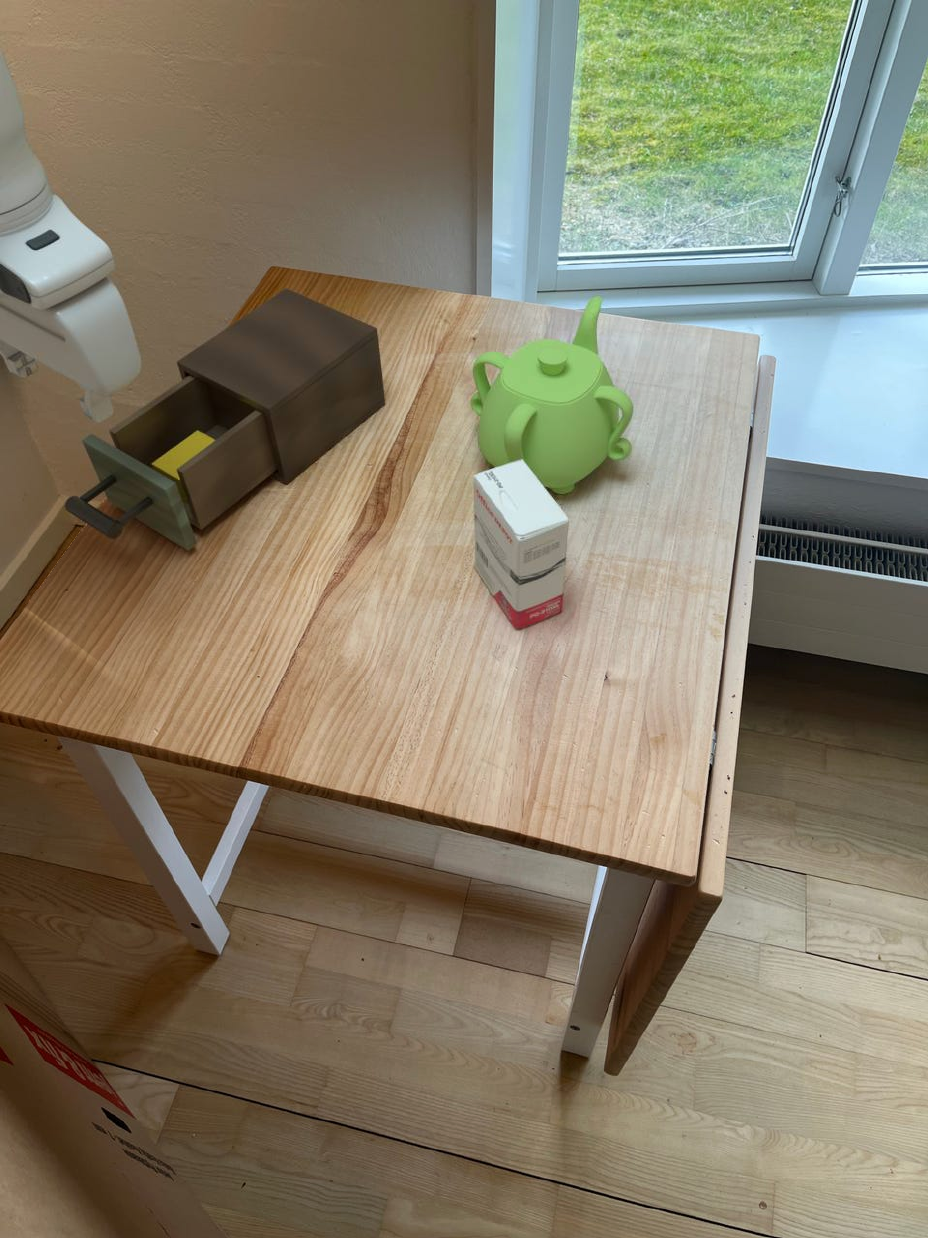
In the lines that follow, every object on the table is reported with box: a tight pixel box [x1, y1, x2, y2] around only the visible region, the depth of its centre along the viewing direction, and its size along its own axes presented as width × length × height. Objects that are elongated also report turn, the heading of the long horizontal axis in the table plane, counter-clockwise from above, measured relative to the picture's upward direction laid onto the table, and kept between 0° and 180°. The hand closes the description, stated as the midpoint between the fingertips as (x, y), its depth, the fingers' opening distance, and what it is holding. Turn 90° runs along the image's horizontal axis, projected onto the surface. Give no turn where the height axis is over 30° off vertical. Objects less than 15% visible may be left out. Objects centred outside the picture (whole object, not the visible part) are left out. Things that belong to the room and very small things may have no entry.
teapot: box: [470, 295, 634, 495], centre depth 93 cm, size 16×14×13 cm
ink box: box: [473, 459, 570, 630], centre depth 81 cm, size 8×5×12 cm, turn 26°
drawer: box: [64, 374, 278, 551], centre depth 90 cm, size 20×11×8 cm, turn 143°
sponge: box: [152, 430, 215, 503], centre depth 92 cm, size 6×4×3 cm, turn 143°
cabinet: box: [176, 287, 386, 486], centre depth 98 cm, size 16×13×10 cm
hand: (61, 393), depth 76 cm, fingers open, 8 cm apart
